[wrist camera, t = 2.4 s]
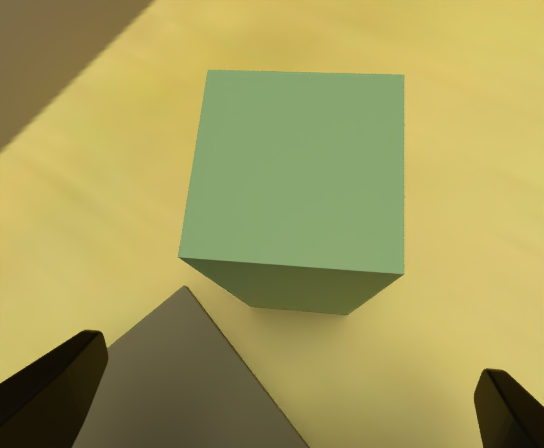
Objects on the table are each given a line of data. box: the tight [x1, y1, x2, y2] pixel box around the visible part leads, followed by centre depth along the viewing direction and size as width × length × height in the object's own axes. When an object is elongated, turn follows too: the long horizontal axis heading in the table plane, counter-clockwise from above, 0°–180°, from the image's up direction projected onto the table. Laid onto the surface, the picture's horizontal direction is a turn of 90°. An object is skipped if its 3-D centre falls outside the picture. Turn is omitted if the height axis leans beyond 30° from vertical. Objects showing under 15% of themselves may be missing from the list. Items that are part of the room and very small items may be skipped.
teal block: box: [178, 70, 404, 315], centre depth 16 cm, size 5×5×12 cm
